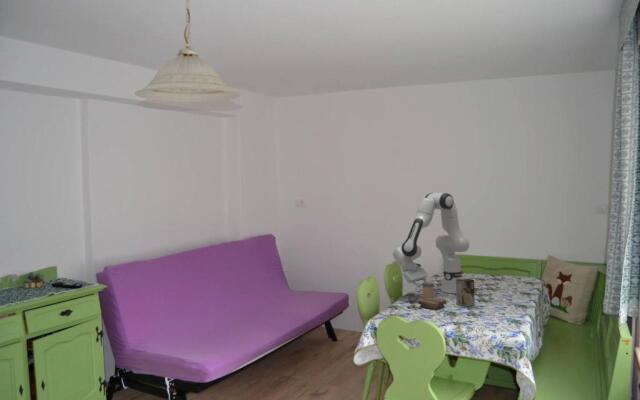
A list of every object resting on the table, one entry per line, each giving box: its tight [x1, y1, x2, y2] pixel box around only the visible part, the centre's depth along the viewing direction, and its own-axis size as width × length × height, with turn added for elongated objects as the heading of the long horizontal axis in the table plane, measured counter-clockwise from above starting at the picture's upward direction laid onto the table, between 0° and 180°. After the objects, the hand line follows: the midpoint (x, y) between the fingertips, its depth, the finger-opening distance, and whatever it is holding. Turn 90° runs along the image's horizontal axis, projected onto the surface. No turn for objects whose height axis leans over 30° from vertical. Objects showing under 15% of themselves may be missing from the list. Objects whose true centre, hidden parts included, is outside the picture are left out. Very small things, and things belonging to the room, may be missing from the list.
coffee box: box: [455, 277, 476, 308], centre depth 310 cm, size 9×6×16 cm
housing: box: [422, 281, 435, 300], centre depth 320 cm, size 5×5×12 cm
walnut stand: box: [418, 297, 447, 311], centre depth 307 cm, size 12×12×4 cm
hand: (423, 285), depth 323 cm, fingers open, 8 cm apart
